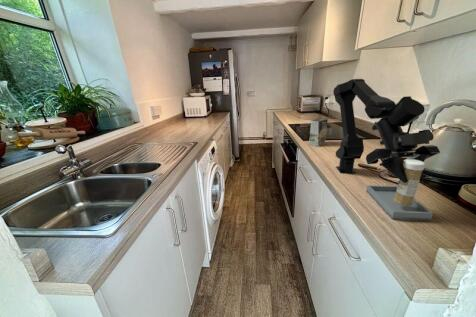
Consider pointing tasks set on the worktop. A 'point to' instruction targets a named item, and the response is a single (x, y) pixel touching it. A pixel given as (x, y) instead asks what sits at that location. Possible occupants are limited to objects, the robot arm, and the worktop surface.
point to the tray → (394, 210)
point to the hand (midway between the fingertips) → (413, 181)
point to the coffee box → (318, 132)
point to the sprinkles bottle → (409, 182)
